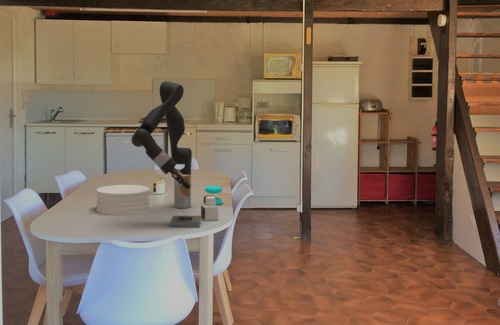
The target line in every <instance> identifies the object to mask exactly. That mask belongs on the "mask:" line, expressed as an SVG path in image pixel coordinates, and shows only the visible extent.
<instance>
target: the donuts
mask: <svg viewBox="0 0 500 325" xmlns="http://www.w3.org/2000/svg"><path fill="white" fill-rule="evenodd" d="M204 192H206V193H207V194H211V195H217V194H220V193H222V192H223V187H221V186H219V185H208V186H206V187H204ZM215 197H216V204H215V205H216V206H220V205H221V204H222V203H223V200H222V199H221V198H220V197H217V196H215Z"/></svg>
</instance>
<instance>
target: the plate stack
mask: <svg viewBox="0 0 500 325" xmlns="http://www.w3.org/2000/svg"><path fill="white" fill-rule="evenodd" d="M150 189H151V188H150V187H148V186H145V185H137V184H116V185H115V184H113V185H104V186H100V187H98V188H96V212H97V213H99V214H102V215H108V216H109V215H110V216H129V215H130V216H132V215H139V214H144V213H146V212H149V211H150V209H151V207H150V204H151V203H150V199H151V197H150V196H151V195H150V191H151V190H150Z"/></svg>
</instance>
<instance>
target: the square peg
mask: <svg viewBox="0 0 500 325" xmlns="http://www.w3.org/2000/svg"><path fill="white" fill-rule="evenodd" d="M182 176H183V179H184V180H185V181H186V182H187V183H188V184H189V185H190V186H191V187H190V188H189V189H188V190H187V189H186V188H185V187H184V186H183V185H182V184H180V196H181V197H190V194H191V195H192V174H191V175H182ZM180 181H181V179H180Z"/></svg>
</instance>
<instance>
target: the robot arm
mask: <svg viewBox="0 0 500 325" xmlns="http://www.w3.org/2000/svg"><path fill="white" fill-rule="evenodd" d="M184 92H185V91H184V86H183V85H182V84H181V83H176V82H171V81H165V80H164V81H162V82H161V83H160V86H159V97H160V100H161V101H160V102H161V104H159V105H158V106H156V107H154V108H153V109H152V110H150V111H149V112H148V114H147V115H146V117H145V118H144V119H143V120H142V123H141V124H140V126H139V127H138V128H137V130H136V131H135V132H134V133H133V134H132V136H131V144H132V145H133V146H135V147H137V148H140V147H143V149H145V154H146V155H147V157H149V158H150V160H151V161H152V162H154V164H155V165H156V167H158V168H159V169H160V171H162V173H163V174H165V175H167V174H169V173H170V174H171V175H170V176H171V177H172V179H174V180H173V183H174V185H173V188H174V191H173V193H174V194H173V196H174V199H173V201H174V202H173V203H174V204H173V207H174V208H177V209H189V208H191V207H192V206H191V204H192V203H191V201H192V197H191V196H192V193H191V194H190V197H181V196H180V184H182V185H183V186H184V187H185V188H186V189H187V190H188V189H189V188H190V187H191V188H192V185H191V186H190V185H189V184H188V183H187V182H186V181H185V180H184V179H183V176H182V175H191V176H192V160H193V159H192V157H193V154H192V149H191V148H189V147H178V144H179V142H180V140H181V139H182V137H183V135H184V133H185V130H186V126H185V120H184V117H183V115H182V113H181V112H180V111H179V110H178V108H177V106H176V105H177V104H179V103H180V101H181V99H182V98H183V97H184V96H183V95H184ZM164 118H165V121H166V128H167V133H168V137H169V138H168V139H169V143H170V144H169V145H170V154H168V153H167V152H166V151H164V150H163V149H162V147H161V146H160V145H159V144H157V141H156V140H155V139H154V136H152V133H153V132H154V131H155V130H157V128H158V127H159V125H160V123H161V121H162V120H163V119H164ZM177 165H184V166H183V167H182V168H181V169H178V168H176V166H177ZM180 179H181V181H180Z"/></svg>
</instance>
